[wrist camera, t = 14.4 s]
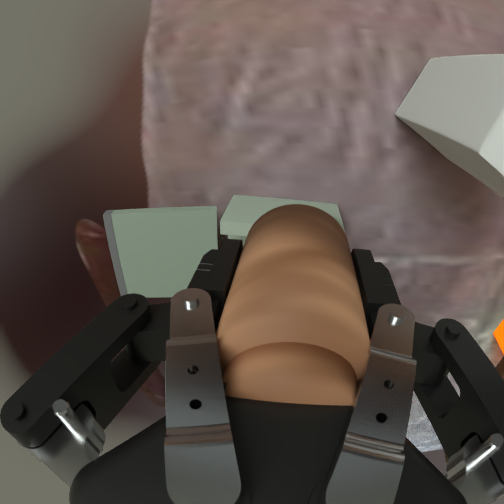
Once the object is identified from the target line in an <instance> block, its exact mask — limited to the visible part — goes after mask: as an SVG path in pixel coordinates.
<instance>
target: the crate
mask: <svg viewBox="0 0 504 504" xmlns="http://www.w3.org/2000/svg"><path fill="white" fill-rule="evenodd" d="M289 204H304V205H309V206H313V207H316V208H319V209H321V210H323V211H325V212H327V213H328V214H330V215H331V216H332V217H333V218H334V219H335V220H336V221H337V222H338V223H339V224H340V225H341V227H342V228H343V230H344V226H343V223H342V219H341V216H340V212H339V209H338V205H337V204H333V203H323V202H314V201H303V200H293V199H282V198H270V197H257V196H243V195H234V196H233V198H232V199H231V201H230V203H229V205H228V207H227V209H226V211H225V213H224V214H223V216H222V218H221V220H220V234H224V235H228V239H239V240H242V241H243V246H244V243H245V240H246V237H247V235H248V232H249V230H250V228H251V227H252V225H253V224H254V223H255V221H256V220H257V219H258V218H259V217H261V216H262V215H263V214H265V213H266V212H268V211H270V210H272V209H274V208H277V207H279V206H283V205H289ZM344 232H345V230H344Z"/></svg>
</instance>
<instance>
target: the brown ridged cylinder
mask: <svg viewBox="0 0 504 504" xmlns="http://www.w3.org/2000/svg"><path fill="white" fill-rule="evenodd" d="M216 338H217V345H218V352H219V359H220V366H221V373H222V379H223V382H225V383H227V385H226V389H225V396H228V397H236V398H244V399H252V400H261V401H271V402H283V403H296V404H314V405H346V406H353V405H354V402H355V399H356V396H355V392H356V395H357V392H358V388H357V382H358V380H359V378H360V375H361V373H362V371H363V368H364V366H365V363H366V361H367V358H368V356H369V349H370V339H369V333H368V328H367V323H366V318H365V313H364V308H363V304H362V299H361V294H360V290H359V285H358V281H357V277H356V272H355V268H354V264H353V260H352V256H351V252H350V248H349V244H348V240H347V237H346V234H345V232H344V230H343V228H342V227H341V225H340V224H339V223H338V222H337V221H336V220H335V219H334V218H333V217H332V216H331V215H330V214H328V213H327V212H325V211H323V210H321V209H319V208H316V207H313V206H309V205H304V204H289V205H283V206H279V207H277V208H274V209H272V210H270V211H268V212H266V213H265V214H263V215H262V216H261V217H259V218H258V219H257V220H256V221H255V223H254V224H253V225H252V227H251V228H250V230H249V232H248V235H247V237H246V240H245V243H244V246H243V250H242V253H241V256H240V259H239V262H238V265H237V268H236V271H235V274H234V278H233V281H232V284H231V287H230V290H229V293H228V296H227V299H226V303H225V306H224V309H223V312H222V315H221V318H220V321H219V325H218V328H217V331H216Z"/></svg>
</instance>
